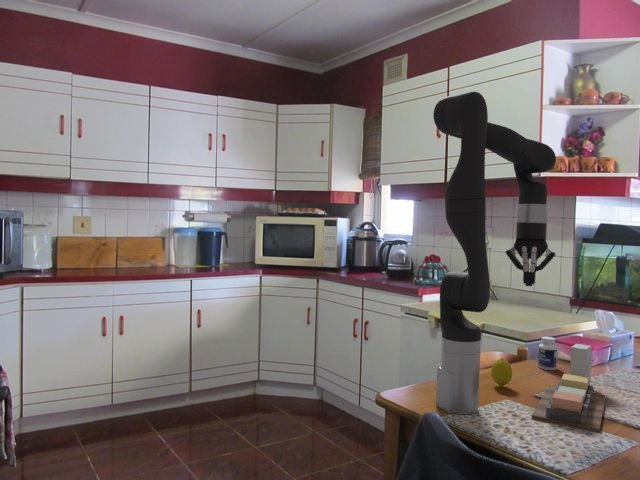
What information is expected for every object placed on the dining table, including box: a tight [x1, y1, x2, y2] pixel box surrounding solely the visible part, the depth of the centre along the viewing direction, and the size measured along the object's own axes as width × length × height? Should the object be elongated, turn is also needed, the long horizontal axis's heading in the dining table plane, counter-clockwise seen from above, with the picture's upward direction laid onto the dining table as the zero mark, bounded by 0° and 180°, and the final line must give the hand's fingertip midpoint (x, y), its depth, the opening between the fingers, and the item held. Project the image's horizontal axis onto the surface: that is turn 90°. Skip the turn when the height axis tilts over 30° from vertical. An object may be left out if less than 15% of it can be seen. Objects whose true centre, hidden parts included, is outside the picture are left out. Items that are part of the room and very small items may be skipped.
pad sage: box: [558, 386, 586, 402], centre depth 132 cm, size 6×6×3 cm
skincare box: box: [569, 343, 593, 385], centre depth 148 cm, size 6×4×12 cm
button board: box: [531, 379, 606, 433], centre depth 132 cm, size 28×14×3 cm, turn 149°
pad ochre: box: [560, 373, 589, 392], centre depth 140 cm, size 6×6×3 cm
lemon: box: [490, 357, 513, 388], centre depth 148 cm, size 6×6×8 cm
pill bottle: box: [537, 336, 558, 371], centre depth 169 cm, size 5×5×10 cm
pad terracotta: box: [552, 391, 583, 413], centre depth 124 cm, size 6×6×3 cm
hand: (529, 285), depth 142 cm, fingers closed
